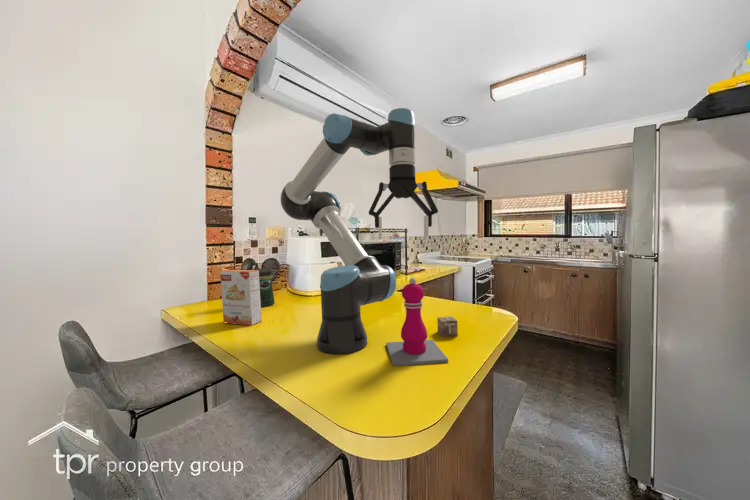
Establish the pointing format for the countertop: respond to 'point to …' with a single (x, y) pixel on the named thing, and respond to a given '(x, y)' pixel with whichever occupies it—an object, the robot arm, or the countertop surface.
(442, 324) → the marked cube
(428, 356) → the grey mat
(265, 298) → the coffee jar
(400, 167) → the robot arm
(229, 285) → the cracker box
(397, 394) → the countertop surface
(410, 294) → the pepper mill
